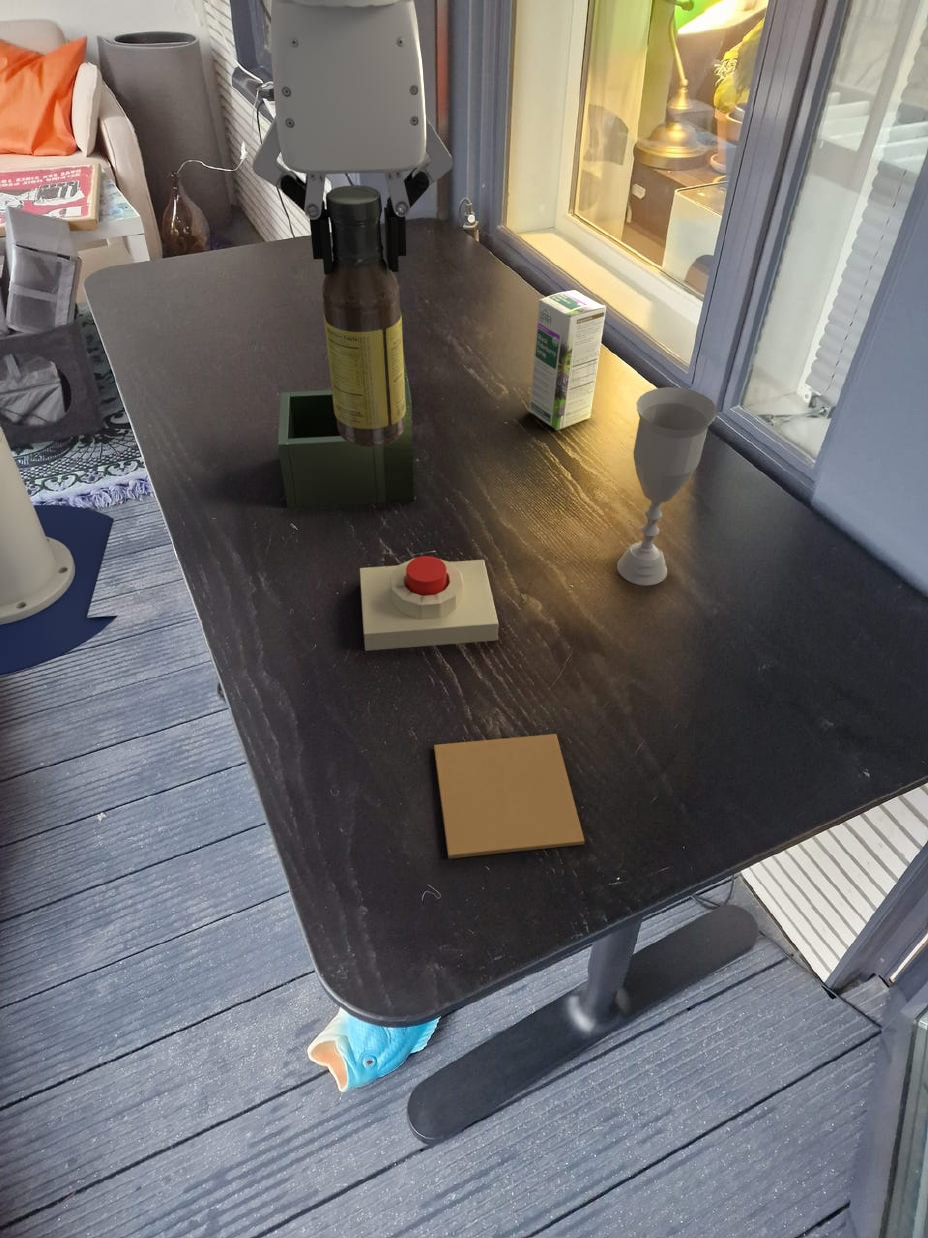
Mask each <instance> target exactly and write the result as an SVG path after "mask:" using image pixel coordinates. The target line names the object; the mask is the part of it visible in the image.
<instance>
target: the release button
mask: <svg viewBox="0 0 928 1238" xmlns="http://www.w3.org/2000/svg"><path fill="white" fill-rule="evenodd" d="M414 558H415V559H413V558H412V559H413V560H412V561H410V562H409V564H408V565H407V568H406V573H407V586H408V588H409V590H410V591H411V592H413V593H415V594H418V595H422V596H428V595H436V594H438V593H440V592H442V591H443V590H444V589H445V587H446V565H445V564H444V562H443V561H441V560H442V559H441V558H438V557H435V556H430V555H423V556H417V557H414ZM440 559H441V560H440Z"/></svg>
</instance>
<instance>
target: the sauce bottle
mask: <svg viewBox="0 0 928 1238" xmlns="http://www.w3.org/2000/svg"><path fill="white" fill-rule="evenodd" d="M325 209H327V214H328V216H329V224H330V234H331V243H332V246H331V248H332V260H333V272H334V273H331V275H325V276H324V279H323V283H322V291H321V292H322V313H323V320H324V330H325V339H326V347H327V358H328V366H329V375H330V376H329V377H330V386H331V390H332V396H333V405H334V413H335V416H336V417H337V427H338V430H339V433H340V435H341V437H342V438H343V439H344V440H346V441H348V442H350V443H352V444H355V445H358V446H361V447H378V446H383V445H387V444H390V443H392V442H394V441H396V440H397V439H398V438H399V437H400V436H401V434H402V433H403V431H404V429H405V411H406V404H405V383H404V362H403V355H404V343H403V318H402V317H403V315H402V311H401V307H400V288H399V284H398V280H397V277H396V275H395V272H392V271H391V270H389V268H388V263H387V261H386V260H385V258H384V246H383V243H382V232H381V231H382V229H381V217H382V213H383V204H382V195H381V192H380V191H379V190H378V189H376V188H374V187H371V186H367V185H360V184H357V185H355V184H352V185H342V186H337V187H335V188H332V189H330V190H329V191H327V192H326V194H325Z"/></svg>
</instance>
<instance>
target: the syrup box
mask: <svg viewBox="0 0 928 1238" xmlns="http://www.w3.org/2000/svg"><path fill="white" fill-rule="evenodd" d="M606 311H607V305H605V304H600V303H598V302H596V301H595V300H593V299H592V298H589V297H588V296H586V295H584V294H582V293H580V292H579V291H577V290H575V289H573V290H567V291H561V292H556V293H554V294H551V295H548V296H545V297H543V298H540V299H539V301H538V311H537V320H536V321H537V322H536V332H535V346H534V355H533V356H534V357H533V367H532V378H531V387H530V399H529V407H528V411H529V413H530V414H532V415H534V416H536V418H538V419H539V420H541V421H542V422H544V423H545V424H547V425H548V426H549V427H551V428H553V429H554V430H555V431H559V430H563V429H565V428H568V427H570V426H573V425H575V424H578V423H580V422H582V421H586V420H588V419H591V415H592V408H593V407H592V406H593V401H594V394H595V387H596V380H597V374H598V367H599V360H600V353H601V346H602V338H603V332H604V325H605V317H606Z"/></svg>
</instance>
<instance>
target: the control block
mask: <svg viewBox="0 0 928 1238" xmlns="http://www.w3.org/2000/svg"><path fill="white" fill-rule="evenodd" d="M415 558H416V557H414V558H411V559H409V560H407V561H405V562H403V563H400V564H398V565H385V566H384V565H383V566H371V567H360V568H359V580H360V582H359V583H360V597H361V613H362V629H363V630H362V632H363V643H364V651H380V650H392V649H405V648H406V649H407V648H416V647H417V648H419V647H431V646H443V645H445V646H446V645H457V644H468V643H469V644H470V643H471V644H472V643H482V642H483V643H484V642H494V641H498V636H499V619H498V615H497V611H496V607H495V602H494V598H493V593H492V588H491V584H490V580H489V575H488V571H487V567H486V562H485V560H484V559H475V560H474V559H473V560H459V561H448V560H444V559H441V558H439V559H440V560H441V561H443V562H444V564H445V565H446V587H445V589H444V590H443V591H442V592H440V593H438V594H436V595H428V596H422V595H418V594H415V593H413V592H411V591H410V590H409V588H408V586H407V573H406V568H407V565H408V564H409V562H410V561H412V560H413V559H415Z"/></svg>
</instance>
